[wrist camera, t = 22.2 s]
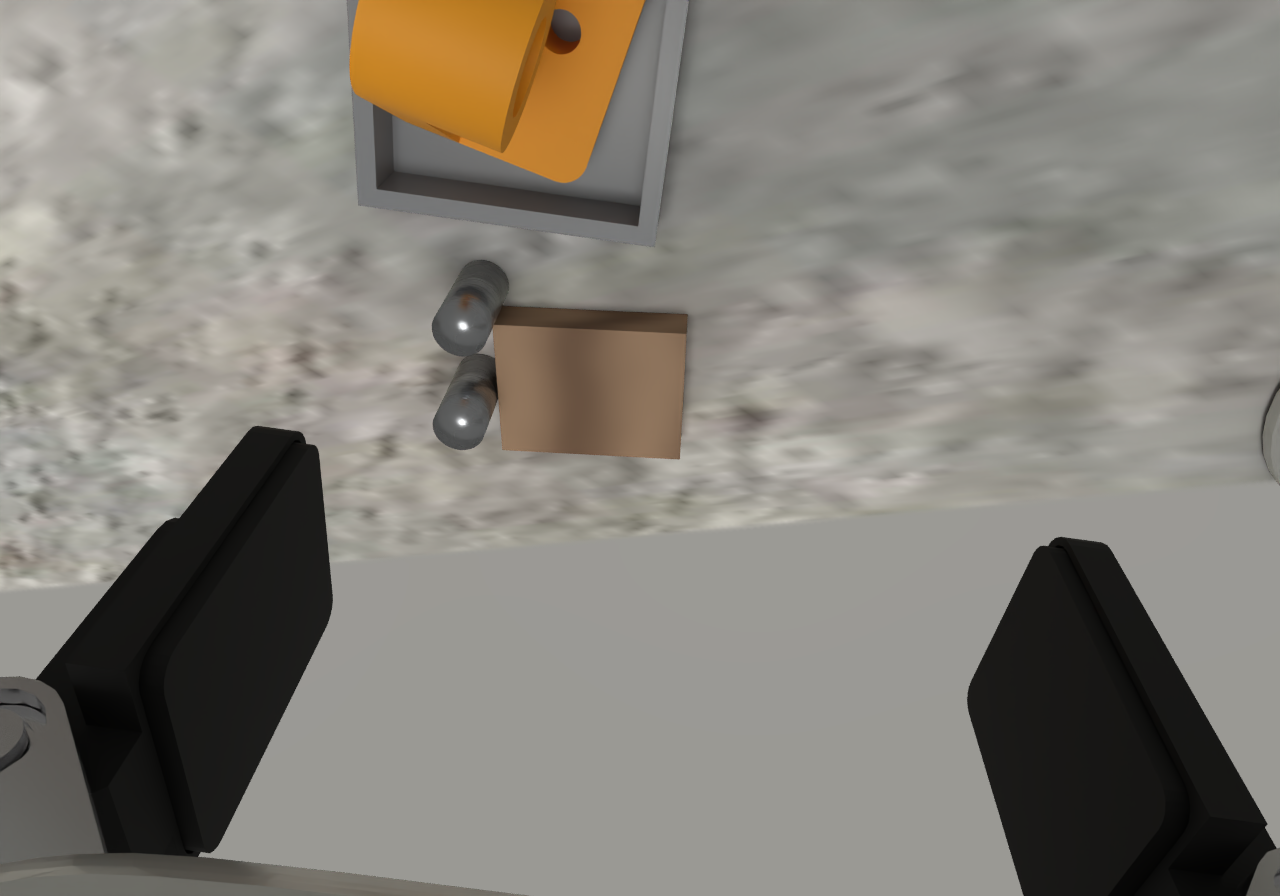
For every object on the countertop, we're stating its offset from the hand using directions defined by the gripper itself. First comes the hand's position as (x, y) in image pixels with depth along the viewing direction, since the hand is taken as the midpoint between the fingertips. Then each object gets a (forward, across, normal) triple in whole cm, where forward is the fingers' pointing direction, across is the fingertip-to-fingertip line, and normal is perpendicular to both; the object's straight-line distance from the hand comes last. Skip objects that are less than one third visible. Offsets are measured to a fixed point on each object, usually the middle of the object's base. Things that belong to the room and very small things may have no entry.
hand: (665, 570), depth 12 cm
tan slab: (+31, +3, +14) cm, 34 cm away
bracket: (+30, +6, -2) cm, 31 cm away
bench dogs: (+30, +8, +13) cm, 34 cm away
